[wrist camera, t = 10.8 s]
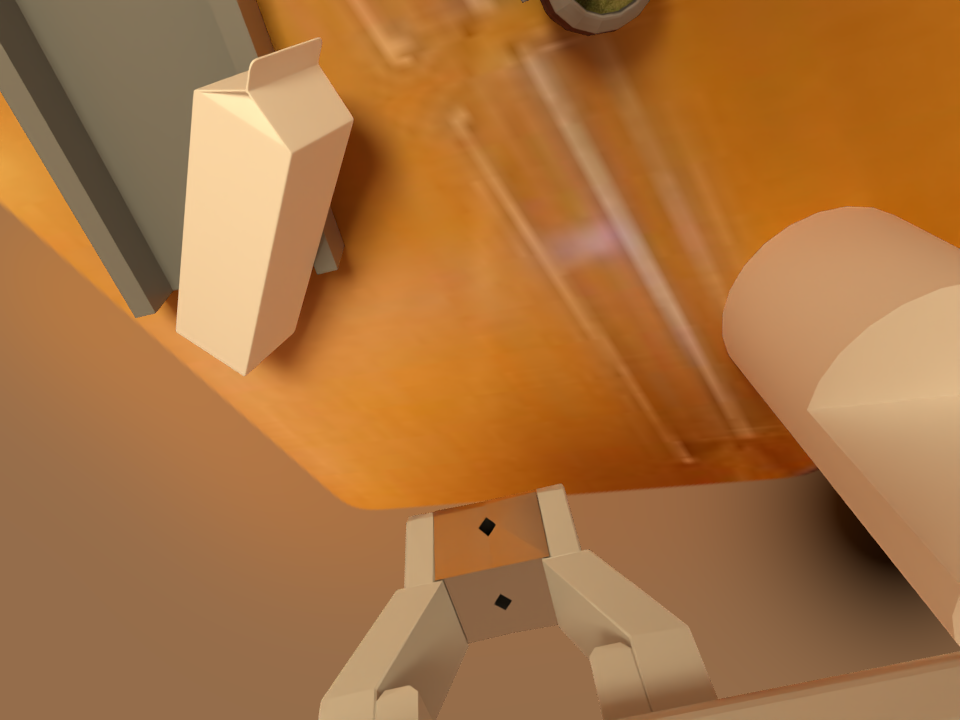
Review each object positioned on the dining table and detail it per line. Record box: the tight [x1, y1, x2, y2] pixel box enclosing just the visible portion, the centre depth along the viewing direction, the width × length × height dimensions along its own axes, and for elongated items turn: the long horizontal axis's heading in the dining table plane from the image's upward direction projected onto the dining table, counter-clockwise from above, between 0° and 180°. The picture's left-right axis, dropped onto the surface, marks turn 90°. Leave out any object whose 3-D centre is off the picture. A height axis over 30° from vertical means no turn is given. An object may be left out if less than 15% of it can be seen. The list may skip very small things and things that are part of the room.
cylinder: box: [722, 206, 960, 646], centre depth 42 cm, size 17×17×28 cm
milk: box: [176, 37, 354, 376], centre depth 39 cm, size 6×6×22 cm
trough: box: [0, 0, 345, 318], centre depth 39 cm, size 28×15×4 cm, turn 12°
